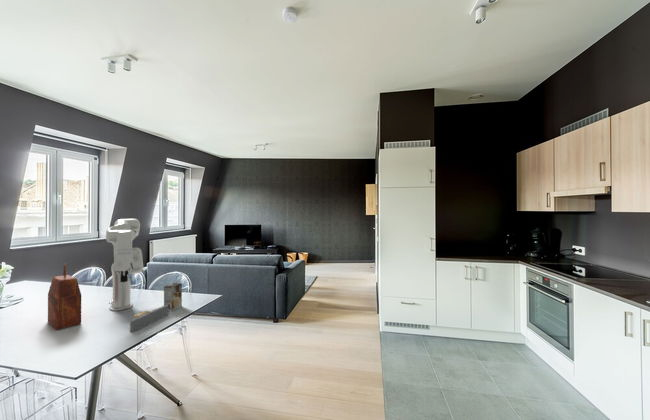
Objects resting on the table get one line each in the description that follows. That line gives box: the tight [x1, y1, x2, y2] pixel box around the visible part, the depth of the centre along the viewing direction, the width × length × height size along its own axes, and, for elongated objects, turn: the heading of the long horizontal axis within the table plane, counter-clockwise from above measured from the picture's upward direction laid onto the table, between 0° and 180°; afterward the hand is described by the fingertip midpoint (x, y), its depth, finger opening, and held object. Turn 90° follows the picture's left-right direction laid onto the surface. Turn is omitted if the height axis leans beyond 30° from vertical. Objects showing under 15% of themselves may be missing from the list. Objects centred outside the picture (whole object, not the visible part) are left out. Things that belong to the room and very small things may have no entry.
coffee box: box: [163, 282, 183, 312], centre depth 175 cm, size 9×6×16 cm
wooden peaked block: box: [47, 263, 82, 331], centre depth 151 cm, size 10×19×35 cm, turn 56°
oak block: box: [134, 310, 152, 319], centre depth 154 cm, size 7×7×5 cm
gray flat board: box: [129, 304, 169, 333], centre depth 153 cm, size 2×24×6 cm, turn 169°
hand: (124, 281), depth 156 cm, fingers closed
